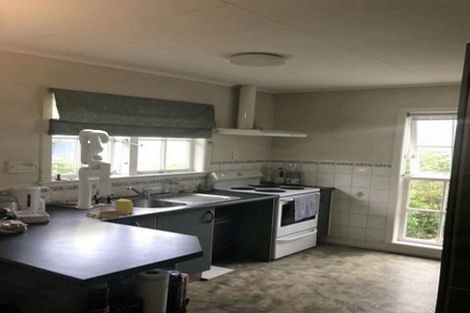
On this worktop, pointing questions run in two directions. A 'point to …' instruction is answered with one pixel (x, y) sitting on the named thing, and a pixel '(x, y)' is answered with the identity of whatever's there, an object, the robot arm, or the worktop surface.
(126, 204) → the yellow rounded block
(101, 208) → the jar
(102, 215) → the lane
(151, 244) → the worktop surface
